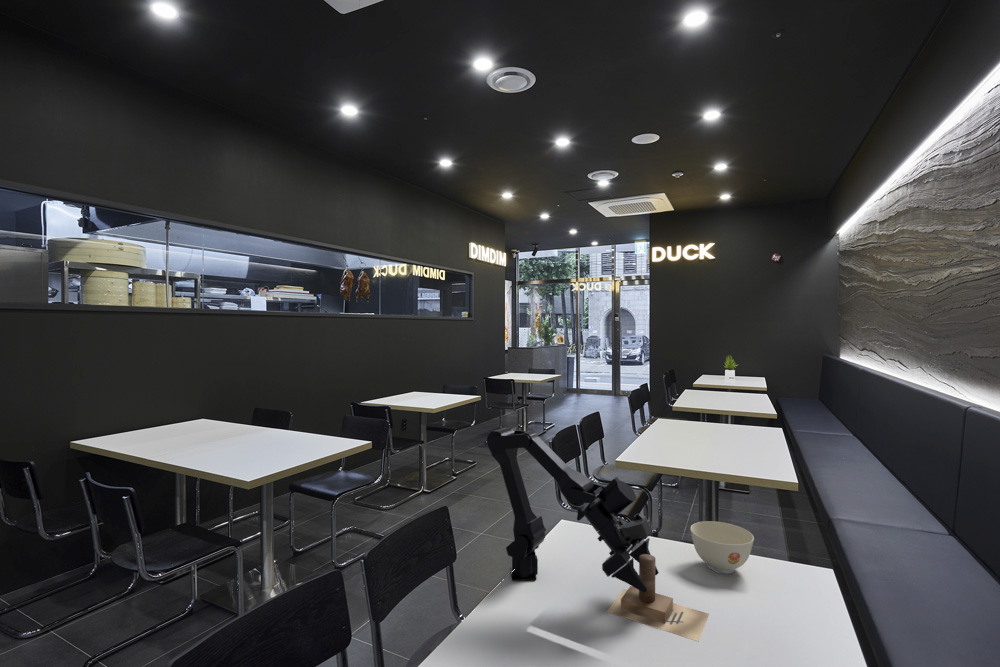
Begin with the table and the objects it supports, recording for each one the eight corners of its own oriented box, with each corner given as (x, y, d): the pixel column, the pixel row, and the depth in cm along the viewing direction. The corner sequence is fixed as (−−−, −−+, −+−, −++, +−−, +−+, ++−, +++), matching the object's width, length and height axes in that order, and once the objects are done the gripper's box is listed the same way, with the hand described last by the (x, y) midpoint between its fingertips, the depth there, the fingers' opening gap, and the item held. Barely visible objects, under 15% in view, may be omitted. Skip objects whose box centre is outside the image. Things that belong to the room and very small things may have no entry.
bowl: (748, 560, 143) (749, 525, 143) (757, 587, 128) (758, 548, 128) (689, 551, 148) (689, 518, 148) (691, 576, 133) (691, 539, 133)
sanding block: (620, 609, 116) (621, 558, 115) (630, 596, 121) (630, 547, 121) (665, 623, 110) (665, 569, 110) (672, 608, 116) (673, 557, 116)
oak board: (606, 615, 115) (606, 611, 115) (623, 592, 125) (623, 588, 125) (698, 646, 104) (698, 641, 104) (709, 618, 114) (709, 613, 114)
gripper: (615, 518, 110) (666, 582, 104) (641, 494, 126) (686, 548, 120) (582, 545, 114) (629, 608, 108) (610, 519, 130) (653, 572, 124)
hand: (651, 582), depth 115 cm, fingers open, 9 cm apart
